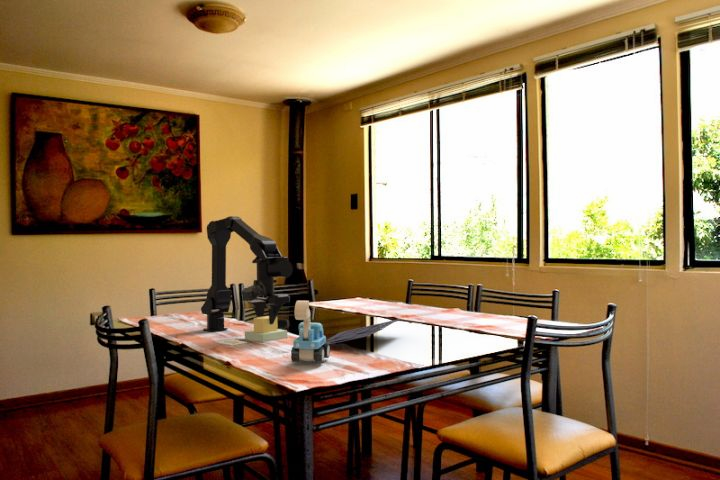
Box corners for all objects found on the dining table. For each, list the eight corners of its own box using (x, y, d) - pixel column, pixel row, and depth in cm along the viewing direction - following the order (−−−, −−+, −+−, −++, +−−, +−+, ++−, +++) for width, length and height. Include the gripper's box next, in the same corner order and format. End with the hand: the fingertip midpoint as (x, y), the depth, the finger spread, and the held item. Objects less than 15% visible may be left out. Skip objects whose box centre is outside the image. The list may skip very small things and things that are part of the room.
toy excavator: (282, 369, 138) (281, 301, 138) (301, 355, 154) (300, 295, 154) (315, 370, 136) (314, 301, 136) (330, 356, 152) (330, 295, 152)
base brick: (244, 340, 182) (244, 331, 182) (268, 336, 189) (268, 327, 189) (263, 343, 175) (263, 334, 175) (287, 339, 183) (287, 330, 183)
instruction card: (217, 342, 175) (217, 341, 175) (233, 340, 180) (233, 339, 180) (231, 345, 170) (231, 344, 170) (247, 342, 174) (247, 341, 174)
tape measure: (287, 328, 195) (287, 317, 196) (268, 330, 195) (268, 319, 196) (290, 329, 201) (289, 319, 202) (272, 330, 202) (271, 320, 202)
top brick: (253, 331, 182) (253, 317, 182) (268, 329, 186) (267, 315, 186) (263, 332, 178) (263, 319, 178) (277, 330, 183) (277, 317, 183)
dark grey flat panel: (303, 359, 167) (301, 347, 167) (341, 339, 195) (339, 329, 195) (375, 343, 159) (372, 331, 159) (404, 326, 187) (402, 315, 187)
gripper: (228, 277, 183) (229, 323, 183) (263, 279, 170) (264, 329, 170) (255, 275, 191) (256, 319, 191) (290, 277, 178) (291, 324, 178)
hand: (265, 323), depth 182 cm, fingers open, 6 cm apart
